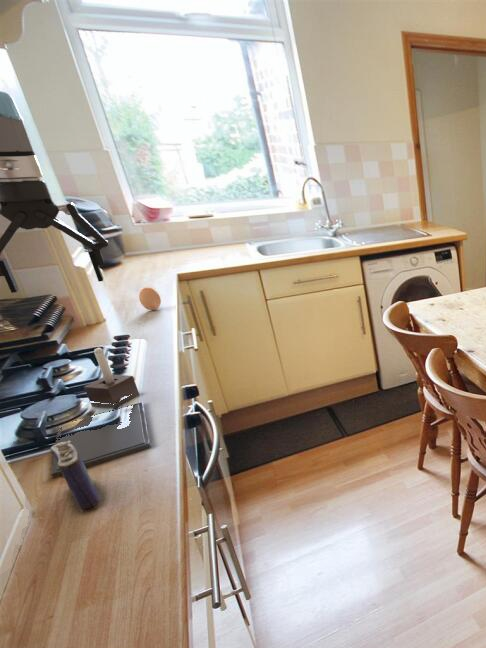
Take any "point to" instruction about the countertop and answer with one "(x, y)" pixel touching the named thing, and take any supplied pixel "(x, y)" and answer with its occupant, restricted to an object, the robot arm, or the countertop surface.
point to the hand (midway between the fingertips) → (59, 285)
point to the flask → (76, 475)
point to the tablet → (108, 440)
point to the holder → (112, 391)
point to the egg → (149, 298)
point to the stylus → (104, 365)
